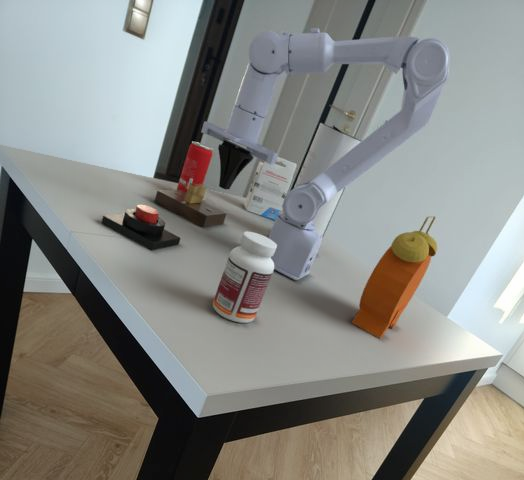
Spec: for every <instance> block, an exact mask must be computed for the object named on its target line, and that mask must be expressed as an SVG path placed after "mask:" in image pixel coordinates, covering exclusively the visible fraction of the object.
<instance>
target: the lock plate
mask: <svg viewBox="0 0 524 480" xmlns="http://www.w3.org/2000/svg"><path fill="white" fill-rule="evenodd" d="M186 194H187V193H186V192H184V191H182V190H177V189H165V190H163V189H162V190H160V189H158V190H157V191H156V194H155V198H154V200H153V201H154V202H153V203H155V204H157V205H159V206H161V207H162V208H165V209H167V210H168V211H170V212H172V213H174V214H176V215H178V216H180V217H182V218H184V219H186V220H187V221H189V222H192V223H193V224H195V225H198V226H199V227H201V228H208V227H214V226H220V225H224V223H225V219H226V217H227V212H226V211H223V210H221V209H219V208H217V207H216V206H213V205H212V204H210V203H207V202H206V201H205V200H204V199H203V200H202V203H191V204H190V203H188V202H186V201H184V200H185V197H186Z"/></svg>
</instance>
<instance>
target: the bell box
mask: <svg viewBox="0 0 524 480" xmlns="http://www.w3.org/2000/svg"><path fill="white" fill-rule="evenodd" d="M135 211H136V208H126V209H125V211H124V213H118V214H106V215H103V216H102V219H101V224H102V225H104V226H106V227H108V228H110V229H112V230H113V231H115V232H117V233H119V234H121V235H123V236H125V237H126V238H129V239H130V240H131V241H134V242H135V243H138V244H139V245H140V246H143V247H145V248H147V249H148V250H150V251H155V250H160V249H165V248H170V247H174V246H178V245H179V244H180V241H181V237H179V236H178V235H176V234H174V233H173V232H170V231H169V230H167V229H166V228H165V227H166V222H165V220H163V218H161V217H160V216H158V218H157V222H156V223H151V222H147V221H144V220H141V219H139V218H137V217H135V216H134V215H135Z"/></svg>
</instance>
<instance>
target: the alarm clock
mask: <svg viewBox="0 0 524 480" xmlns="http://www.w3.org/2000/svg"><path fill="white" fill-rule="evenodd" d="M430 218H432V220H431V222H430V223H429V224H428V227H427V229H426V231H425V232H424V231H423V229H424V227H425V225H426V223H427V222H428V220H429V219H430ZM435 220H436V215H430V216H426V218H425V219H424V221H423V223H422V225H421V226H420V229H419V230H413V231H411V232H410V231H409V232H408V231H407V232H403V233H401V234H398V235H397V236H396V237H395V238H394V239H393V241H392V242H391V246H390V247H389V248H387V250H386V251H384V253H383V254H382V256H381V257H380V259H379V260H378V262H377V264H376V265H375V267H374V268H373V270H372V271H371V272H372V273H371V274H370V276H369V277H368V279H367V282H366V283H365V286H364V288H363V289H362V293H361V296H360V300H359V307H358V308H359V310H358V312H357V313H356V315H355V316H354V318H353V319H352V321H351V323H352V324H353V325H355V326H357V327H359V328H360V329H362V330H364V331H365V332H368V333H369V334H371V335H373V336H374V337H376V338H378V339H381V338H382V337H384V336H385V334H386V332H387V331H388V329H389V328H390V329H391V330H393V328H395V327H396V325H397V323H398V321H399V319H400V317H401V315H402V313H403V312H404V310H405V309H406V308H407V306H408V305H409V303H410V302H411V300H412V298H413V297H414V295H415V293H416V292H417V290H418V288H419V286H420V284H421V282H422V280H423V279H424V277H425V275H426V272H427V270H428V268H429V266H430V263H431V260H432V257H435V256H436V254H437V252H438V244H437V241H436V240H435V239H434V238H433V237H432V236H431V235H430V234H429V231H430V229H431V227H432V225H433V224H434V222H435Z"/></svg>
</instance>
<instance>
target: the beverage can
mask: <svg viewBox="0 0 524 480" xmlns="http://www.w3.org/2000/svg"><path fill="white" fill-rule="evenodd" d="M213 150H214V149H213V148H212V147H211V146H208V145H206V144H204V143H201V142H198V141H193V140H192V141H191V144H189V147H188V150H187V153H186V157H185V160H184V163H183V167H182V171H181V174H180V177H179V180H178V183H177V187H176V190H182V191H184V192H186V193H187V191H188V187H189V184H191V183H194V184H202V185H204V182H205V180H206V176H207V173H208V170H209V167H210V165H211V164H210V163H211V160H212V157H213V153H214V152H213Z"/></svg>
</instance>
